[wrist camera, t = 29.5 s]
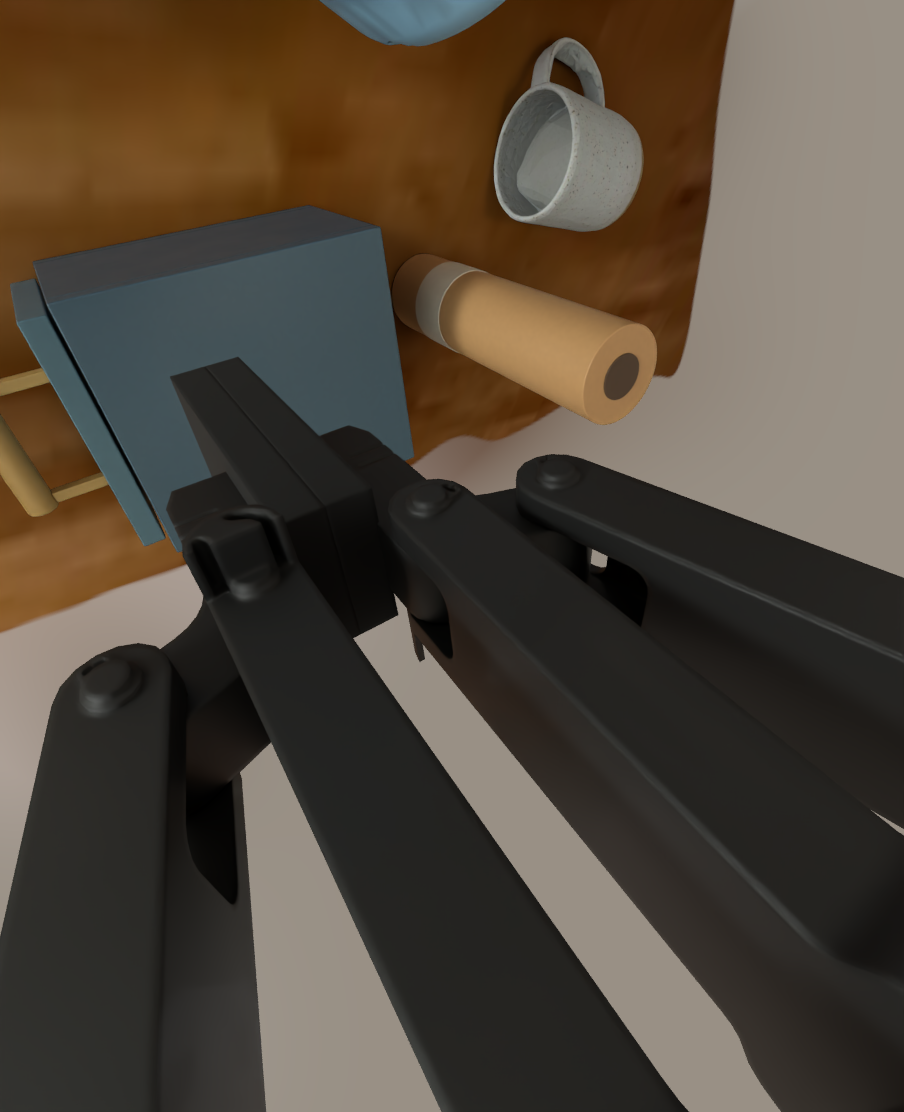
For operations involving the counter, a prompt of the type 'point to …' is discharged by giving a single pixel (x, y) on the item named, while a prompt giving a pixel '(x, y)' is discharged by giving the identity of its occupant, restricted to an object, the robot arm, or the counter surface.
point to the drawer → (68, 381)
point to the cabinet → (233, 331)
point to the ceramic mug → (566, 150)
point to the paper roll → (529, 336)
